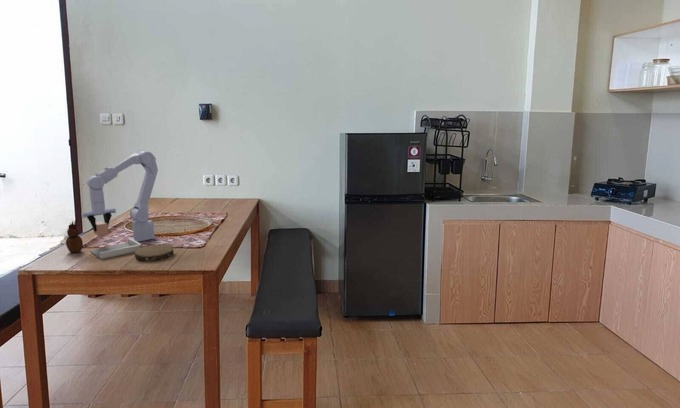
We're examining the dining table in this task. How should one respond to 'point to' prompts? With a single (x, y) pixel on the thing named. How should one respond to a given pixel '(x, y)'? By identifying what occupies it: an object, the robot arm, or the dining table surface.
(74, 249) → the wooden figurine
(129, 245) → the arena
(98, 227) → the terracotta block
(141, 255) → the wooden log slice
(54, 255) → the dining table surface
